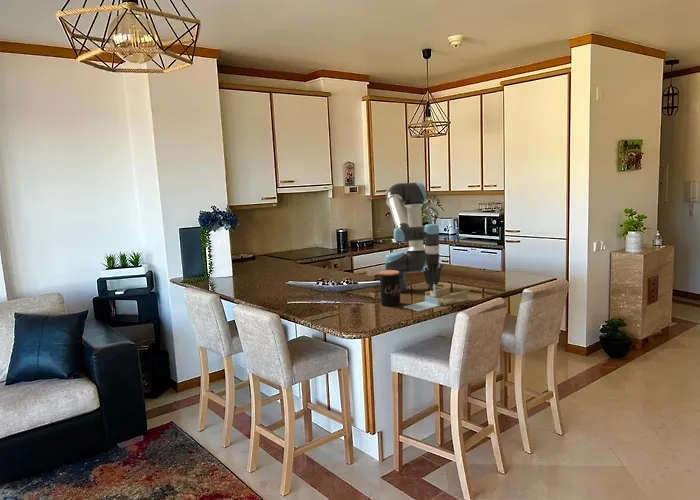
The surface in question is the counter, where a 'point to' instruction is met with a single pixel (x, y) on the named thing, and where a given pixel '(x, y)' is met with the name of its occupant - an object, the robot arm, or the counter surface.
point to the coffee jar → (390, 287)
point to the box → (448, 296)
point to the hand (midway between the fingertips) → (433, 296)
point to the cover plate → (425, 304)
